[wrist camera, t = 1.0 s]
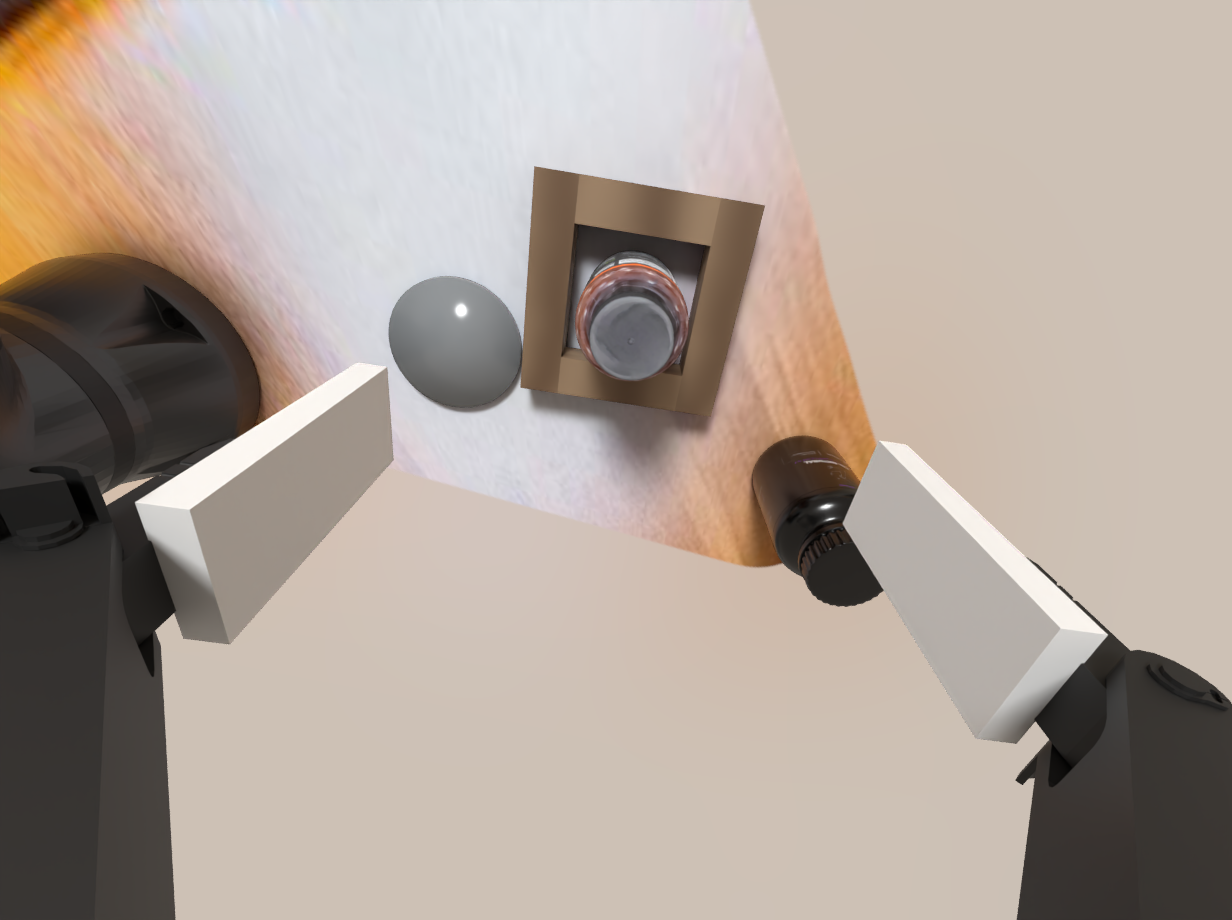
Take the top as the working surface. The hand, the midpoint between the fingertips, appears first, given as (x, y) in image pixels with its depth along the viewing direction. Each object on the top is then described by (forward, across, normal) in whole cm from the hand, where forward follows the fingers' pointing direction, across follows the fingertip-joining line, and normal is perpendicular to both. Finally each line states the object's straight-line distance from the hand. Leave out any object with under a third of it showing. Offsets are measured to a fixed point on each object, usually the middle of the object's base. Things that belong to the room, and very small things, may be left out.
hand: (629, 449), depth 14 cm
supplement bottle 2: (+22, +14, -11) cm, 29 cm away
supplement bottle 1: (+23, 0, 0) cm, 23 cm away
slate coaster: (+22, -12, -5) cm, 26 cm away
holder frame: (+22, 0, 0) cm, 22 cm away
